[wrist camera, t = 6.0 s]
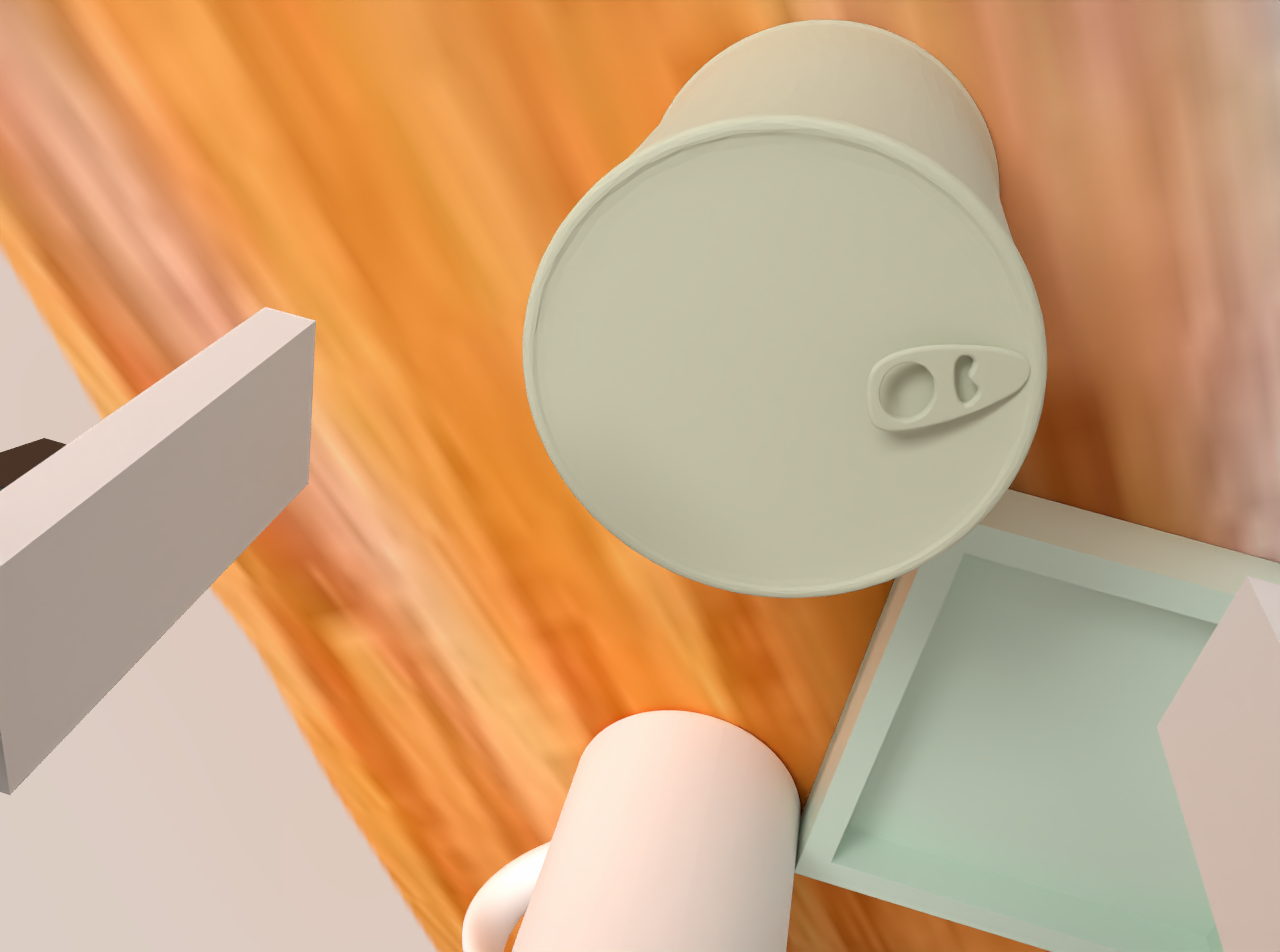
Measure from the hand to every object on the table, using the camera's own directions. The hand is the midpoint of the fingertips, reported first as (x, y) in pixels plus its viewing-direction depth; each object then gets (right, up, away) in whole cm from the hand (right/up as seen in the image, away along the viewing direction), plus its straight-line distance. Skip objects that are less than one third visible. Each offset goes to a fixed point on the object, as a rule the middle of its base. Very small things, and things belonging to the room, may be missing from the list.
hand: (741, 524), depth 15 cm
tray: (+13, -7, +20) cm, 25 cm away
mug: (-1, -11, +26) cm, 28 cm away
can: (+3, +8, +14) cm, 16 cm away
